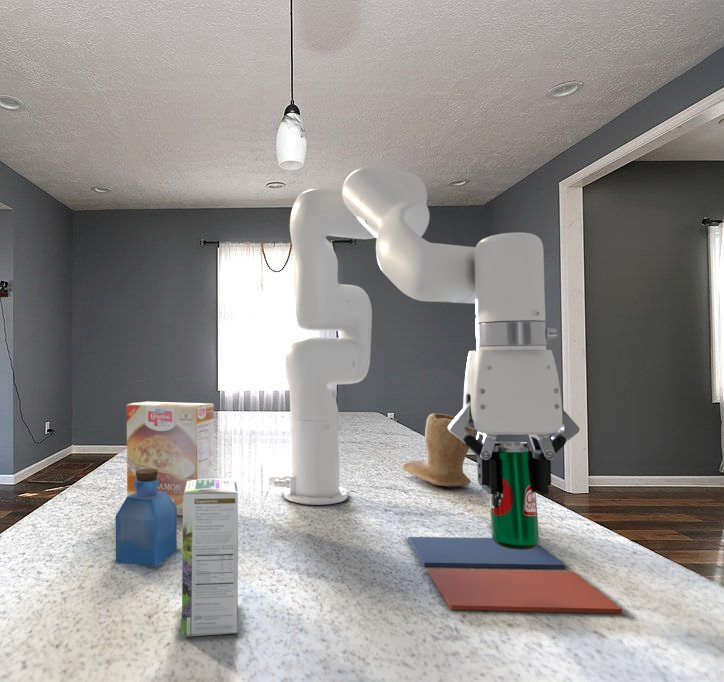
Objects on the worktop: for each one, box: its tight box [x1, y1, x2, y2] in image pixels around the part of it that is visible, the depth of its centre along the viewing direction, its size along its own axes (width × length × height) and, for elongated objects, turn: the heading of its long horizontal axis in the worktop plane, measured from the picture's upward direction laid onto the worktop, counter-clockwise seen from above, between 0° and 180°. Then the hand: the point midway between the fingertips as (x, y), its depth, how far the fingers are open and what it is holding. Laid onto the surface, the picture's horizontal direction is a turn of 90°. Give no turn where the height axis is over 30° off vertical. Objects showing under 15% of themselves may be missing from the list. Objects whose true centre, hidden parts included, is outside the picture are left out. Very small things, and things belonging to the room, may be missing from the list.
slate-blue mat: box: [407, 536, 566, 569], centre depth 74 cm, size 18×10×1 cm, turn 86°
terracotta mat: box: [427, 568, 623, 615], centre depth 62 cm, size 18×10×1 cm, turn 86°
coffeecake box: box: [126, 401, 215, 517], centre depth 98 cm, size 15×7×20 cm, turn 68°
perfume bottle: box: [115, 468, 178, 568], centre depth 75 cm, size 6×6×12 cm
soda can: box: [488, 441, 540, 550], centre depth 63 cm, size 5×5×12 cm
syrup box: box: [181, 478, 239, 637], centre depth 56 cm, size 6×6×14 cm
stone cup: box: [401, 412, 475, 487], centre depth 116 cm, size 15×12×15 cm
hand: (514, 489), depth 63 cm, fingers closed on soda can, 5 cm apart
